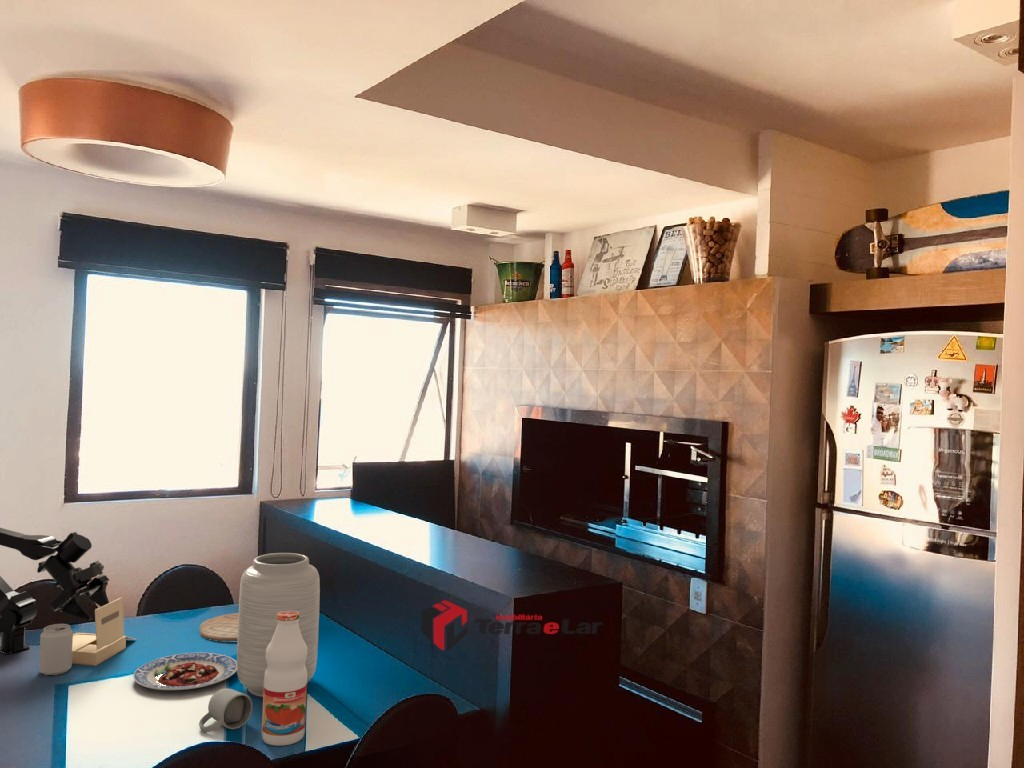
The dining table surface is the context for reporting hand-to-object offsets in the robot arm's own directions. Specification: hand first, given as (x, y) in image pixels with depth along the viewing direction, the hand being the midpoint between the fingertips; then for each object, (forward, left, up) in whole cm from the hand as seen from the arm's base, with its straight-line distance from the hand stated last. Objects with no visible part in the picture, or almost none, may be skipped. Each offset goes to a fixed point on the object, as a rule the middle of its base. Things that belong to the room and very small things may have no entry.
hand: (99, 614), depth 218 cm
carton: (-5, +1, -12) cm, 13 cm away
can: (+3, -13, -12) cm, 18 cm away
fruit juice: (+79, +1, -12) cm, 80 cm away
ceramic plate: (+32, +7, -12) cm, 35 cm away
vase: (+55, +18, -12) cm, 59 cm away
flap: (+3, +2, -8) cm, 8 cm away
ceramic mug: (+64, -4, -12) cm, 65 cm away
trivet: (+10, +40, -12) cm, 43 cm away
